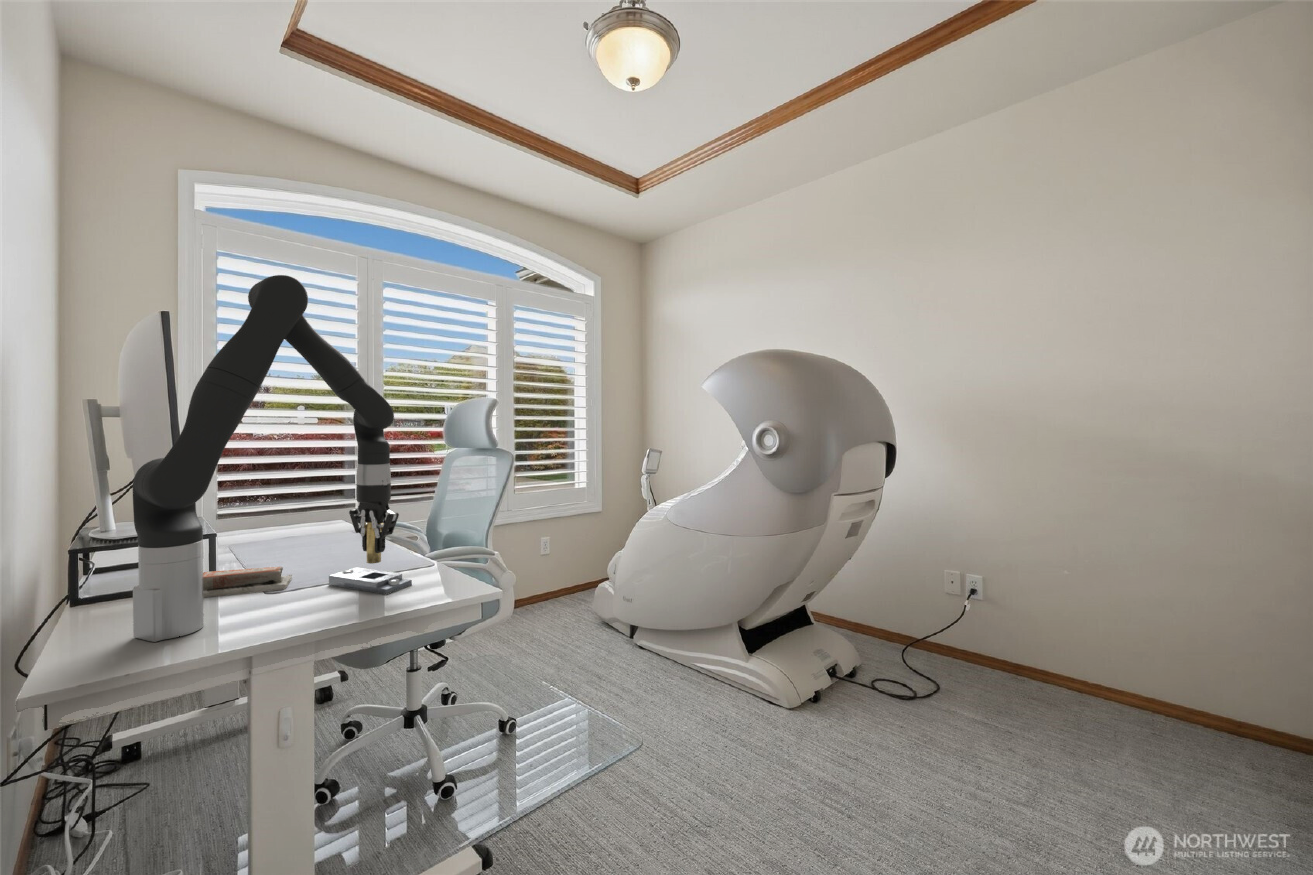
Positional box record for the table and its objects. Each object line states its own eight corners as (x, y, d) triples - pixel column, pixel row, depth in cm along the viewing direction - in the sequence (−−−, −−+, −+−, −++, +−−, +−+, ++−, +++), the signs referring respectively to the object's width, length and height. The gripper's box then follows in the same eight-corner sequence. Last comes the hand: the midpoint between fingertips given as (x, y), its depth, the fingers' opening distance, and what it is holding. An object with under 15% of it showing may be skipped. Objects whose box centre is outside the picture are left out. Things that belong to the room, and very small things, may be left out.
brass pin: (373, 564, 133) (373, 523, 132) (363, 562, 134) (363, 522, 133) (384, 560, 136) (384, 521, 135) (374, 559, 137) (374, 519, 136)
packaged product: (190, 579, 123) (203, 568, 132) (190, 600, 123) (204, 588, 132) (285, 570, 130) (292, 560, 139) (286, 591, 131) (292, 579, 140)
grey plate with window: (386, 594, 128) (386, 583, 128) (328, 585, 134) (328, 574, 134) (411, 584, 136) (411, 574, 136) (356, 576, 142) (356, 566, 142)
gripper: (338, 481, 133) (338, 552, 133) (384, 485, 128) (384, 558, 129) (364, 478, 140) (364, 545, 140) (408, 482, 135) (408, 550, 136)
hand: (373, 551), depth 135 cm, fingers closed on brass pin, 3 cm apart
